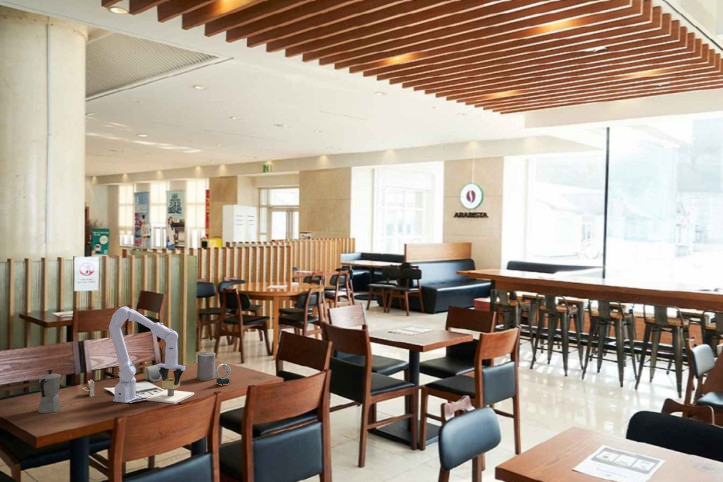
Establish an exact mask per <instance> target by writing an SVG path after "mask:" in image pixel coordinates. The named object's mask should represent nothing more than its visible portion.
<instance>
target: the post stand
mask: <svg viewBox="0 0 723 482" xmlns="http://www.w3.org/2000/svg"><path fill="white" fill-rule="evenodd" d="M192 396H195V392H193V391H182V390H175V389H164V390H162V391H160V392H158V393H155V394H152V395H151V396H150V395H149V396H147V397H145V400H146V401H149V402H159V403H160V402H161V403H168V404H178V403H179V402H182V401H183V400H186V399H188V398H190V397H192Z"/></svg>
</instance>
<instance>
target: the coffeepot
mask: <svg viewBox="0 0 723 482" xmlns="http://www.w3.org/2000/svg"><path fill="white" fill-rule="evenodd" d="M47 371H48V373H47V374H43V375H40V376H38V382H39V387H40V388H39V390H40V393H41V394H40V395H41V396H40V400H39V406H38V413H41V414H51V413H56V412H59V411H60V410H61V403H60V402H61V401H60V398H59V397H60V396H59V390H60V385H61V379H62V374H58V373H52V372H53V370H52V369H48V370H47Z"/></svg>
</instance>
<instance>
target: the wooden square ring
mask: <svg viewBox="0 0 723 482" xmlns="http://www.w3.org/2000/svg"><path fill="white" fill-rule="evenodd" d="M161 383H162V384H161V385H162V386H161V387H162V389H164V390H168V389H174V390H175V389H177V388H180V386H181V379H180V380H179V384H178V385H175V378H172V377H171V378H170V377H168V379H166V380H164V381H163V380H162V381H161Z"/></svg>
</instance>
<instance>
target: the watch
mask: <svg viewBox="0 0 723 482" xmlns="http://www.w3.org/2000/svg"><path fill="white" fill-rule="evenodd" d="M221 367H222V368H223V370H224V371H225V372H226V374H225V375H224V376H221V375H220V372H219V371H220V369H221ZM231 372H232V369H231V366H230V365H228V364H227V363H220V364H218V365H217V367H215V376H216V377H217V378H216V377H215V381H216V383H218V384H222V385H223V384H228V383H229V384H230V378H229V376H230V374H231Z"/></svg>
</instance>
